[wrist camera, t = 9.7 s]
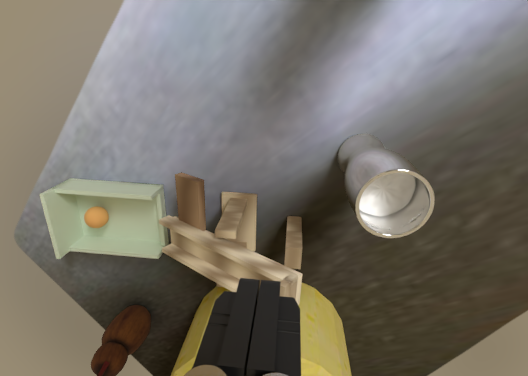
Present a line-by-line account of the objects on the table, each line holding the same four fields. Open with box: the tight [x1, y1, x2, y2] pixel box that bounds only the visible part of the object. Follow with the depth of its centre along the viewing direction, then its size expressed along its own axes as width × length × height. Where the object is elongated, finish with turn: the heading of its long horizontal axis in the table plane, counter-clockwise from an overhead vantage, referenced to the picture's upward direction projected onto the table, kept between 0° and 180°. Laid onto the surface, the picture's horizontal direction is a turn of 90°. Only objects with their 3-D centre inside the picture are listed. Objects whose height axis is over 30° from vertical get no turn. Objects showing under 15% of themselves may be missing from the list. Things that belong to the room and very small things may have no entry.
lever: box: [159, 172, 302, 305], centre depth 35 cm, size 20×11×3 cm
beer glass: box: [338, 134, 435, 238], centre depth 34 cm, size 7×7×15 cm
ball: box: [84, 206, 109, 228], centre depth 46 cm, size 3×3×3 cm
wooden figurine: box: [91, 305, 151, 376], centre depth 48 cm, size 7×6×15 cm
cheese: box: [171, 283, 351, 376], centre depth 47 cm, size 26×26×15 cm
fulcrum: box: [215, 192, 302, 287], centre depth 41 cm, size 12×9×10 cm
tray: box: [39, 178, 169, 259], centre depth 44 cm, size 10×14×6 cm
